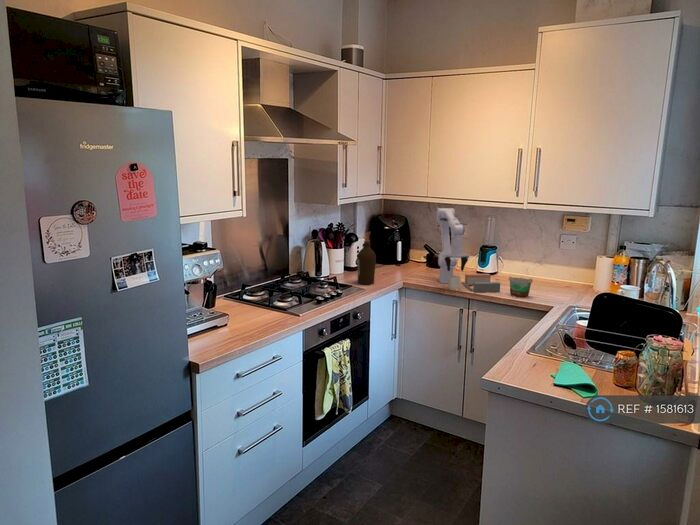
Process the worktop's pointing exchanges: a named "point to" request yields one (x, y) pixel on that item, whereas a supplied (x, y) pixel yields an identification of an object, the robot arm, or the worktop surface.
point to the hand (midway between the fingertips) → (455, 270)
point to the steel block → (454, 282)
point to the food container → (520, 286)
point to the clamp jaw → (476, 278)
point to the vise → (484, 287)
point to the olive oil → (366, 264)
